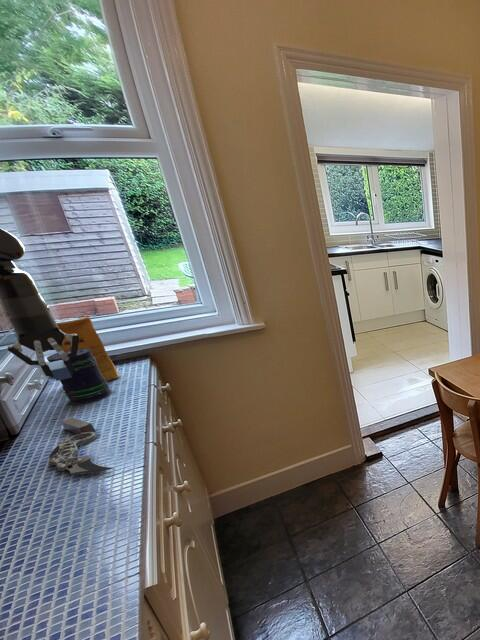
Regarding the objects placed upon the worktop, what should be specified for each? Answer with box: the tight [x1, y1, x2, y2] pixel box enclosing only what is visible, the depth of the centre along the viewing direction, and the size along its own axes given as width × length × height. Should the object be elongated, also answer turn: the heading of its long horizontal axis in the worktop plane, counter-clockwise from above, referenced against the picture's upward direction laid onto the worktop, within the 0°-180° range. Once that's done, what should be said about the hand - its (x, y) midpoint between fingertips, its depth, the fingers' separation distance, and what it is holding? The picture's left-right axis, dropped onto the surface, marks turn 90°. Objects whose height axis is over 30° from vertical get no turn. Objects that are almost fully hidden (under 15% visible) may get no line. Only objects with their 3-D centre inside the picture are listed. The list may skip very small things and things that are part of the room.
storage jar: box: [46, 348, 112, 405], centre depth 129 cm, size 10×10×15 cm
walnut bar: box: [60, 417, 96, 434], centre depth 111 cm, size 10×2×2 cm, turn 66°
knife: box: [47, 432, 114, 475], centre depth 99 cm, size 28×2×10 cm
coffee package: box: [56, 316, 119, 383], centre depth 140 cm, size 10×12×22 cm
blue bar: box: [46, 360, 71, 382], centre depth 112 cm, size 10×3×3 cm, turn 51°
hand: (61, 374), depth 113 cm, fingers closed on blue bar, 3 cm apart
